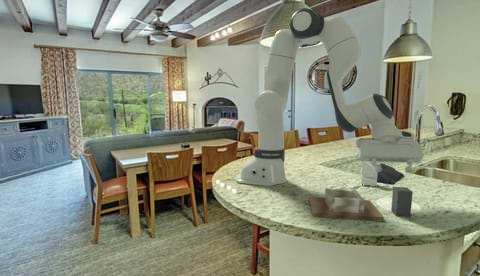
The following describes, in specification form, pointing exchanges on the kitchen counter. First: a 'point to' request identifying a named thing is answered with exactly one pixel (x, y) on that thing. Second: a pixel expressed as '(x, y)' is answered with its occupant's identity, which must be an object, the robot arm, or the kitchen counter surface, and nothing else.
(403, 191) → the black plug
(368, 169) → the white wedge bracket
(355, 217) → the socket block
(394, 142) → the robot arm
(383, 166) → the dark slate chunk
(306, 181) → the kitchen counter surface
